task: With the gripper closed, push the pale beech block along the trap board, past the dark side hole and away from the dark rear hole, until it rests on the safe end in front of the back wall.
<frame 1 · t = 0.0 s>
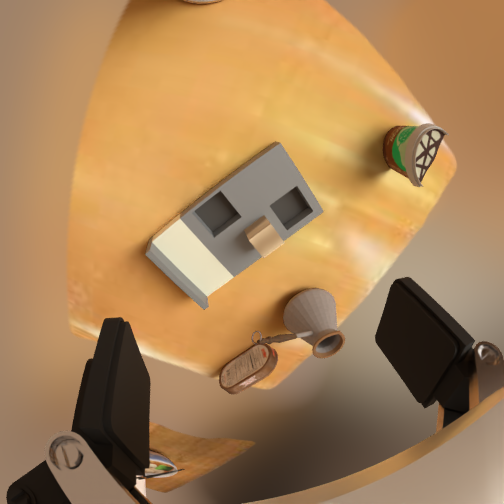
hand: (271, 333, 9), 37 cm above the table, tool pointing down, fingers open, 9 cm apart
tin: (243, 354, 63), on the table
trap board: (235, 221, 47), on the table
coffee pot: (285, 298, 57), on the table
bottle: (137, 475, 92), on the table
block: (260, 231, 46), point 2 cm above the table, touching trap board
ramen bowl: (146, 452, 80), on the table
food container: (391, 140, 46), on the table
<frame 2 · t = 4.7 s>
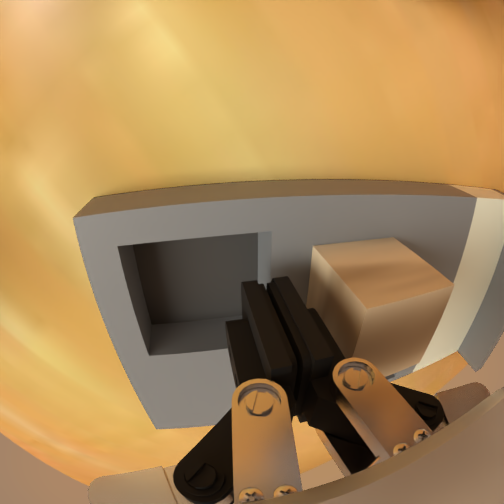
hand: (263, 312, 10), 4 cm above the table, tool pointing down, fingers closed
trap board: (354, 297, 16), on the table
block: (349, 282, 12), point 3 cm above the table, touching gripper
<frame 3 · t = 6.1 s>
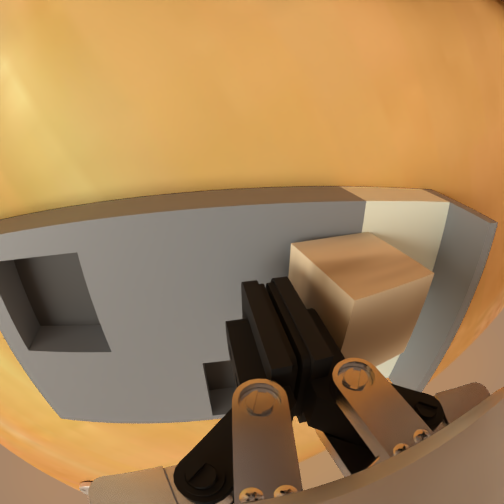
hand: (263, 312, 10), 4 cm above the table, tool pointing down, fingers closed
trap board: (224, 315, 16), on the table
block: (327, 278, 12), point 3 cm above the table, tilted 8°, touching gripper, trap board
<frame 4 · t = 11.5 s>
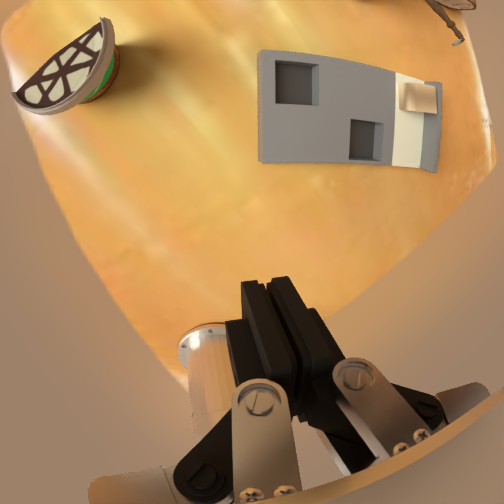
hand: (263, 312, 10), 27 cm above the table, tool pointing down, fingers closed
trap board: (350, 112, 34), on the table
block: (408, 97, 31), point 2 cm above the table, touching trap board
food container: (94, 85, 26), on the table
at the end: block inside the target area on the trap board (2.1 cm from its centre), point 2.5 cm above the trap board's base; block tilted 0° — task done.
